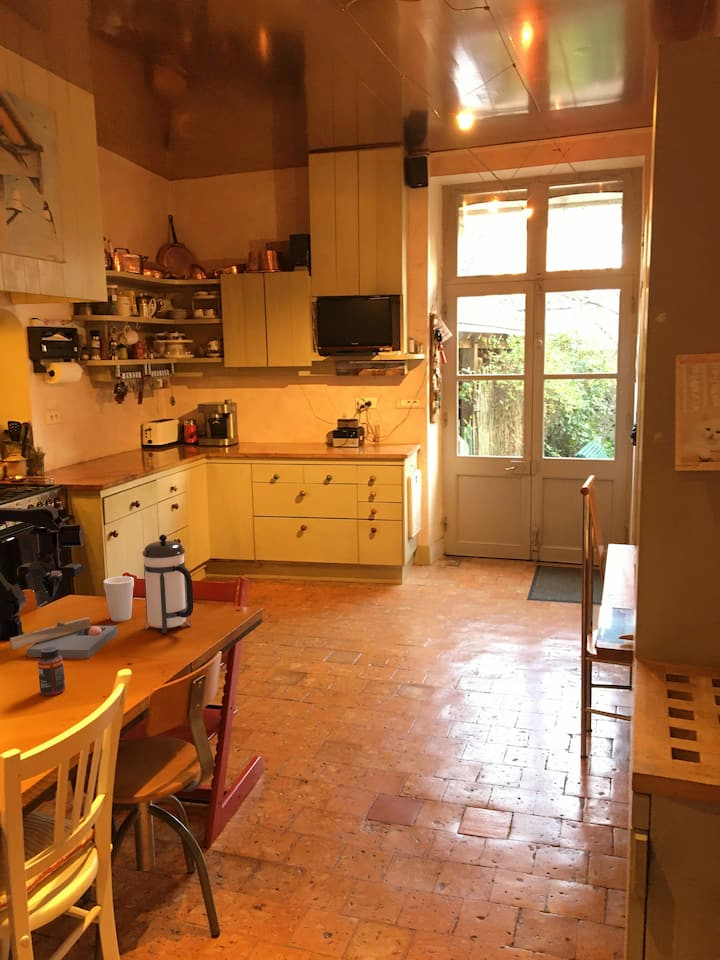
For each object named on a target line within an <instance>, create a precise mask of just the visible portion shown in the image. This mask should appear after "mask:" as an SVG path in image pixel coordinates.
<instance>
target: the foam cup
mask: <svg viewBox="0 0 720 960" xmlns="http://www.w3.org/2000/svg"><path fill="white" fill-rule="evenodd" d="M134 579H135V578H134V577H132V576H125V575H124V576H121V575H120V576H113V577H109V578H106V579H104V580H103V590H104V591H105V596H106V602H107V607H108V611H109V616H110V620H111V621H112V622H125V621H128V620H130V619H131V618H132V607H133V596H134V593H133V592H134V587H135V580H134Z"/></svg>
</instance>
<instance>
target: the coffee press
mask: <svg viewBox="0 0 720 960" xmlns="http://www.w3.org/2000/svg"><path fill="white" fill-rule="evenodd" d="M158 538H159V540H158V541H155V542H151V543H149V544H147V545H146V546H145V547H144V550H143V551H142V556H143V560H144V561H143V562H144V563H143V570H144V571H143V578H144V593H145V594H144V595H145V596H144V597H145V608H146V609H145V611H146V613H145V614H146V621H145V622H144V624H143V627H142V628H143V629H144V630H148V629H149V628H150V627H152V628H155V629H156V628H157V629H162V630H161V633H162V636H163V635H168V631H169V630H168V629H171V628H175V627H178V626H181V625H184V626H186V627H188V626H189V624H187V623H186V621H188V622H189V623H190V627H192V623H193V622H192V621H191V620H190V619H189V617H191V615H192V614H193V611H194V591H193V588H194V587H193V578H192V576H191V573H190V571H189V570H188V568H186V563H185V562H186V561H185V552H186V550H185V548H184V547H183V545H182V544H181V543H180V542H178V541H175V540H167V535H166V534H160V535H159V537H158ZM147 623H148V624H149V626H147V627H146V624H147ZM188 628H189V627H188Z"/></svg>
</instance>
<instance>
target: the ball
mask: <svg viewBox="0 0 720 960" xmlns="http://www.w3.org/2000/svg"><path fill="white" fill-rule="evenodd" d="M93 626H94V627H92V628H90V629H89V631H88V635H89V636H97V635H99V634H100V633H101V632H102V630H101V628H99V627H97V626H98V625H93Z"/></svg>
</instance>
